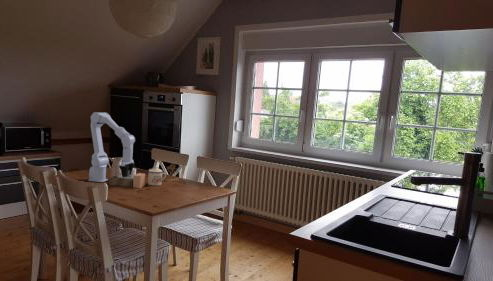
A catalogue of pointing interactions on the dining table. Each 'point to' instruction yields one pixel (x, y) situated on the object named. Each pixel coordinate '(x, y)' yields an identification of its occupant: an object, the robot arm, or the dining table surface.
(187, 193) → the dining table surface
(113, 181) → the guide channel
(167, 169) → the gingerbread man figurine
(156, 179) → the teacup with lid
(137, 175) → the tan square block
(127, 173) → the slide bar
